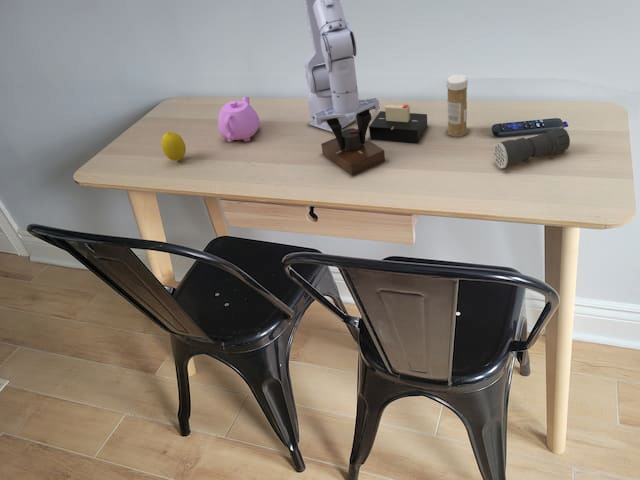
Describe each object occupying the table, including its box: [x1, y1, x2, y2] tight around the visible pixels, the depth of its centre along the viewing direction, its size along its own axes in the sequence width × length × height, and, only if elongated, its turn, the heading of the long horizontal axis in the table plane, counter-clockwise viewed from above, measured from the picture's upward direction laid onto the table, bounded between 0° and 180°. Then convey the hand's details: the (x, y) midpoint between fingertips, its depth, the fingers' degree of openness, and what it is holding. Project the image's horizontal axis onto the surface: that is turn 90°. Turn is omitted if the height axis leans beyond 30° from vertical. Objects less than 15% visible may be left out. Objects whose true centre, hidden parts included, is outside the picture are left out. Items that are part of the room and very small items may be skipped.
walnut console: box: [320, 137, 386, 177], centre depth 132 cm, size 13×9×3 cm
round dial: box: [342, 127, 361, 151], centre depth 130 cm, size 4×4×4 cm
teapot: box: [217, 96, 261, 143], centre depth 147 cm, size 10×15×9 cm
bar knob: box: [384, 104, 411, 122], centre depth 136 cm, size 6×2×4 cm, turn 67°
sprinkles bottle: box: [446, 74, 469, 138], centre depth 132 cm, size 5×5×14 cm
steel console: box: [368, 110, 429, 145], centre depth 138 cm, size 12×10×4 cm
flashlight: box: [493, 127, 571, 169], centre depth 122 cm, size 15×5×5 cm, turn 105°
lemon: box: [160, 131, 187, 162], centre depth 141 cm, size 6×6×8 cm
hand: (351, 144), depth 131 cm, fingers closed on round dial, 4 cm apart
